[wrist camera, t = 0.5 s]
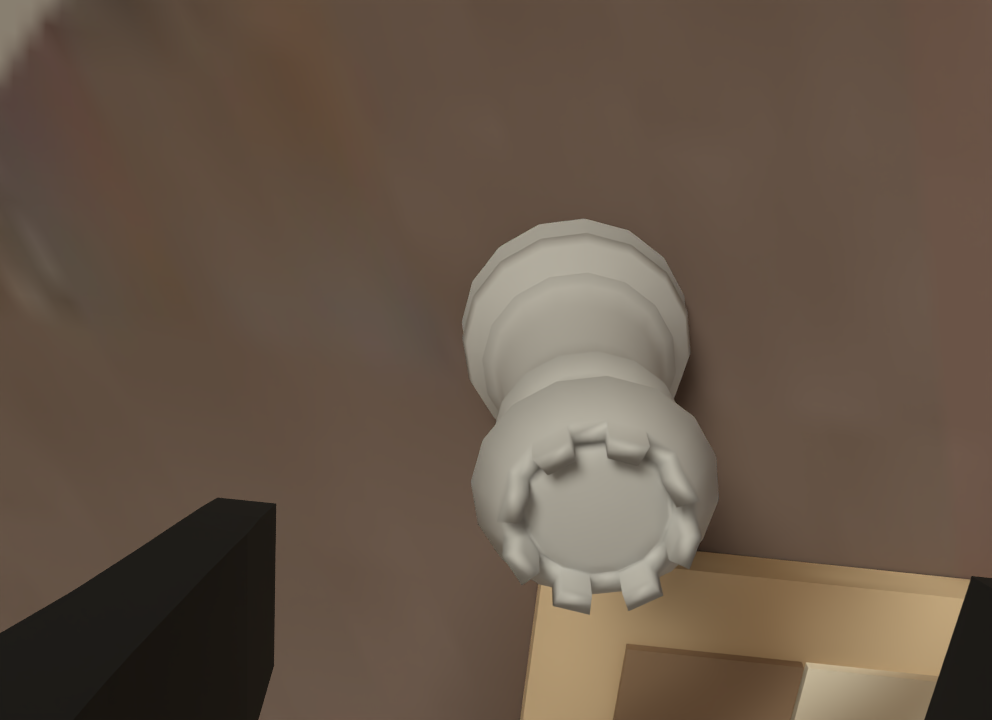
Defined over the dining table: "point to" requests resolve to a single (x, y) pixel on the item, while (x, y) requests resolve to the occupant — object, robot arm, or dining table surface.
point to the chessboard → (747, 645)
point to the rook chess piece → (586, 414)
